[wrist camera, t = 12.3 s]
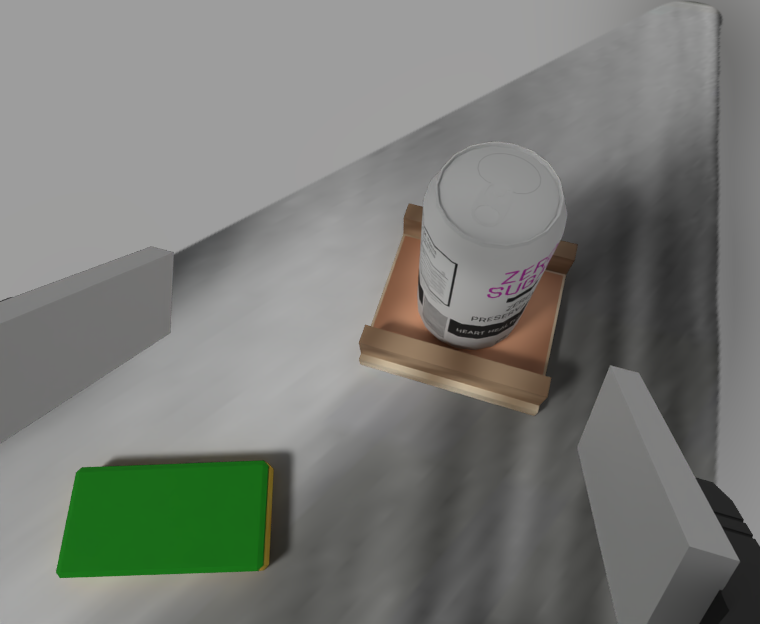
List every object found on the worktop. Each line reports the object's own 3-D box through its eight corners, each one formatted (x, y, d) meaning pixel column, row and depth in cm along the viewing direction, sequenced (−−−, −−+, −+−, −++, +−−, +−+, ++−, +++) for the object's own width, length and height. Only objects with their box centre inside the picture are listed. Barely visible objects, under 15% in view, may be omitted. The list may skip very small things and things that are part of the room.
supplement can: (443, 246, 45) (461, 115, 31) (534, 286, 43) (596, 165, 29) (399, 324, 42) (398, 217, 29) (494, 370, 40) (542, 279, 27)
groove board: (360, 364, 42) (356, 348, 39) (409, 222, 48) (410, 198, 44) (534, 415, 40) (546, 404, 37) (566, 261, 45) (578, 239, 42)
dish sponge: (93, 472, 40) (76, 467, 38) (275, 465, 40) (267, 460, 38) (74, 576, 37) (53, 578, 35) (270, 570, 37) (261, 571, 35)
